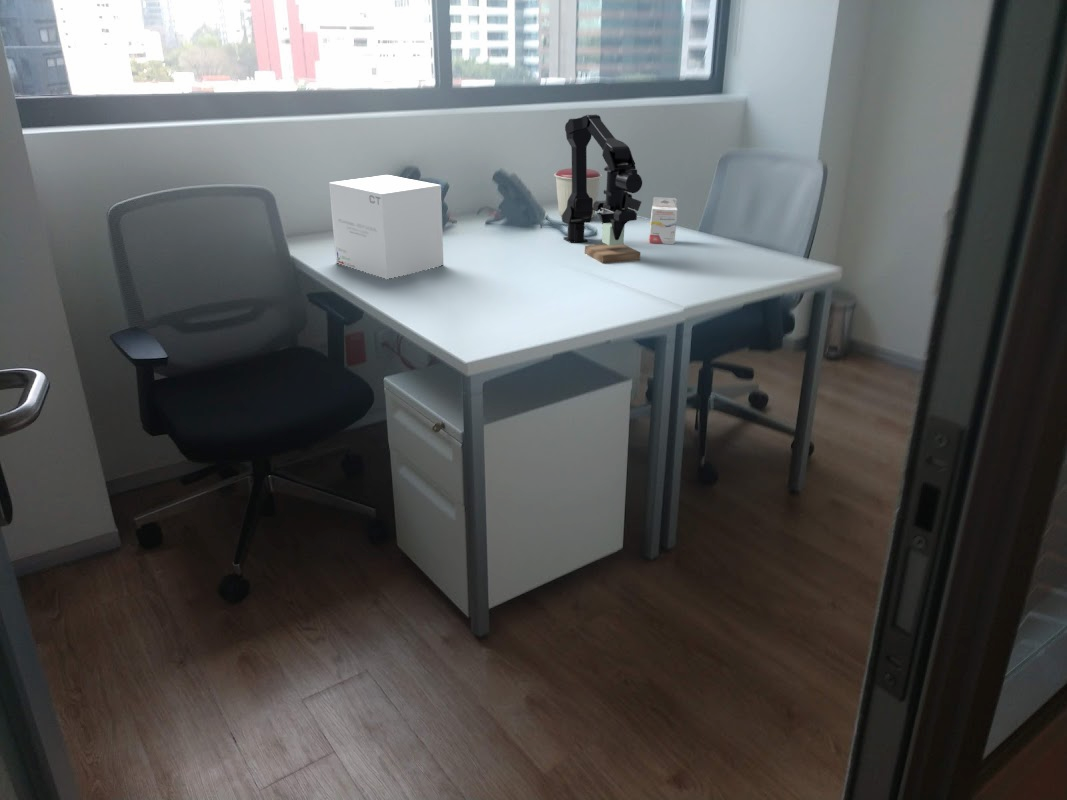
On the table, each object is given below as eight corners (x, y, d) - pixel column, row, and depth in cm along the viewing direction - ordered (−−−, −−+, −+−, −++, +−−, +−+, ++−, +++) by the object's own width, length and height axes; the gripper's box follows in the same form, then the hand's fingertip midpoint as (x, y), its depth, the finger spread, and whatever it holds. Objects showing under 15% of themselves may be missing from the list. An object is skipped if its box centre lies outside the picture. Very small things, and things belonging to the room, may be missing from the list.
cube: (336, 264, 246) (328, 182, 236) (392, 252, 260) (387, 174, 250) (387, 281, 231) (381, 193, 221) (443, 267, 245) (440, 185, 235)
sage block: (602, 242, 257) (603, 223, 255) (616, 240, 259) (617, 222, 257) (609, 245, 253) (610, 226, 251) (623, 244, 255) (624, 225, 253)
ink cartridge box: (649, 243, 275) (652, 199, 269) (648, 240, 280) (652, 197, 274) (674, 244, 274) (678, 200, 268) (673, 241, 279) (677, 197, 273)
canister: (586, 225, 300) (589, 166, 291) (544, 219, 308) (545, 162, 299) (608, 217, 314) (610, 161, 305) (567, 211, 322) (568, 157, 314)
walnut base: (584, 255, 261) (585, 245, 260) (620, 251, 266) (620, 242, 265) (602, 265, 250) (603, 255, 249) (639, 261, 255) (640, 252, 254)
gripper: (653, 191, 244) (650, 242, 251) (624, 181, 260) (621, 229, 266) (621, 193, 240) (618, 245, 247) (593, 183, 256) (591, 232, 262)
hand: (612, 238), depth 256 cm, fingers open, 5 cm apart
